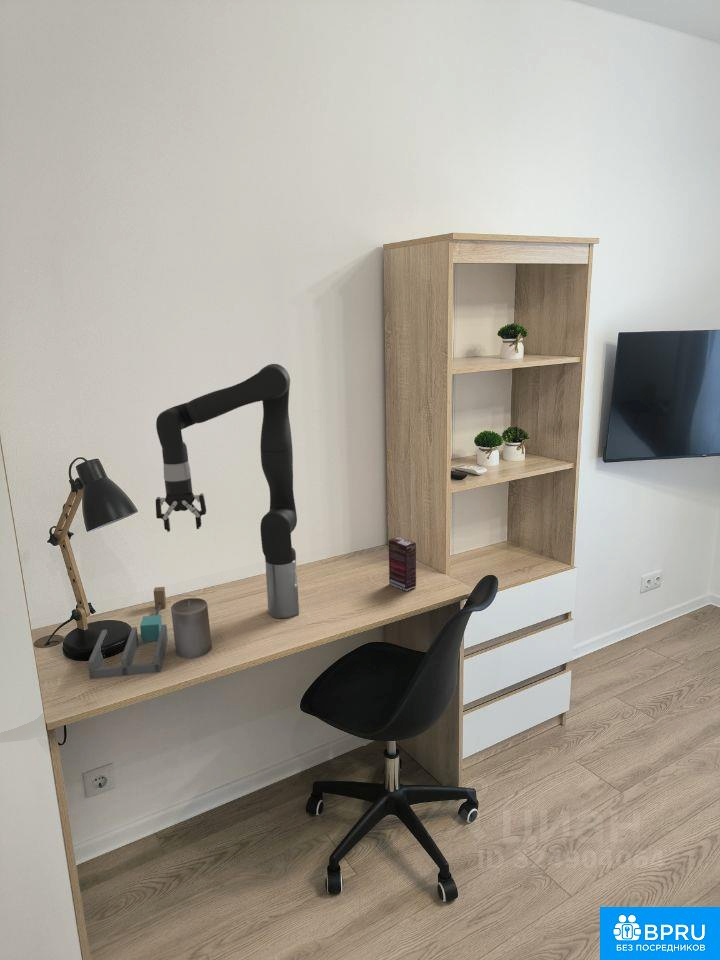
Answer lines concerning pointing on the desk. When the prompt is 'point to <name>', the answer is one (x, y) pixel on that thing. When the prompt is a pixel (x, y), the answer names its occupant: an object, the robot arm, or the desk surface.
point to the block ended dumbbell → (153, 618)
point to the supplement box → (402, 563)
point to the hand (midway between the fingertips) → (183, 529)
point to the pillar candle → (191, 628)
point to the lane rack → (127, 657)
